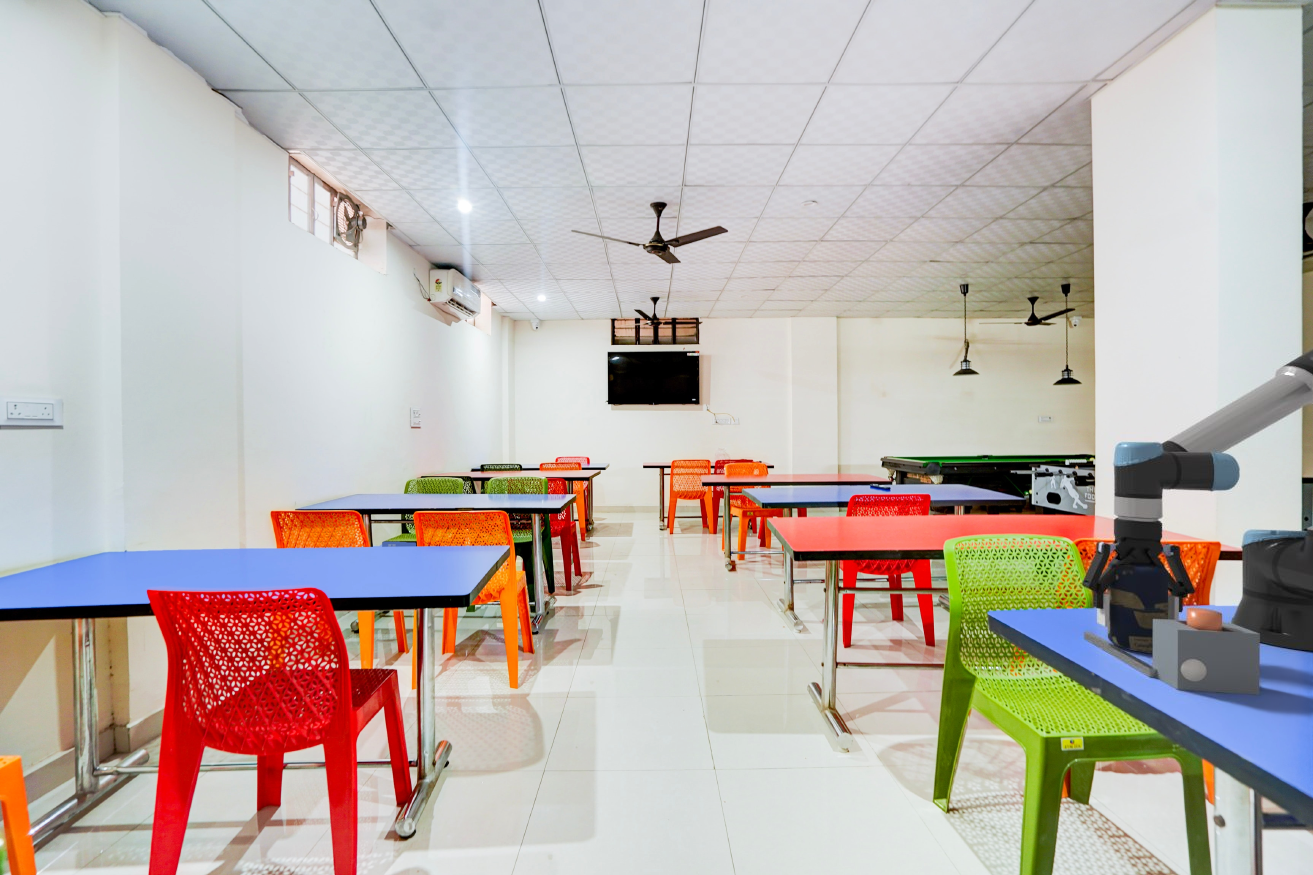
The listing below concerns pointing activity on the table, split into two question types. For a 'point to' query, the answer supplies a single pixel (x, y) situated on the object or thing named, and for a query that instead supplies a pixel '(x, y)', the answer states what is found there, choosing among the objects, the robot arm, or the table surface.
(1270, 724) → the table surface
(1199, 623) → the button
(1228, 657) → the end cabinet
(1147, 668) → the rail track
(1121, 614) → the canister
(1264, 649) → the table surface
